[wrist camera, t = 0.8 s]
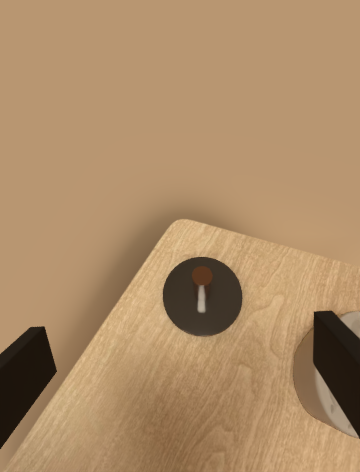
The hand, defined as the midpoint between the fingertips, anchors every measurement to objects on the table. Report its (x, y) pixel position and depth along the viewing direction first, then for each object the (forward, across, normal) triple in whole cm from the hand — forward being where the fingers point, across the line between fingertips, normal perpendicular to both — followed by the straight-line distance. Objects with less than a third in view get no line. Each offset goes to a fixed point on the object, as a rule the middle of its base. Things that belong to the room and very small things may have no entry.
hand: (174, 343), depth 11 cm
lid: (+25, +1, -11) cm, 27 cm away
